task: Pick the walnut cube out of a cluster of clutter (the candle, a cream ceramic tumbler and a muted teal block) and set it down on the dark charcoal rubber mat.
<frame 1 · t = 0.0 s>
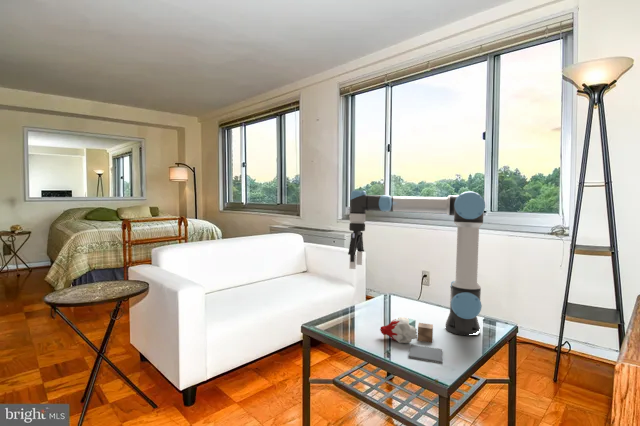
hand: (355, 266, 167), 28 cm above the table, fingers open, 13 cm apart
cream tumbler: (402, 332, 159), on the table
walnut cube: (425, 339, 151), on the table
mat: (425, 354, 134), on the table
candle: (397, 340, 149), on the table
teal block: (408, 328, 164), on the table
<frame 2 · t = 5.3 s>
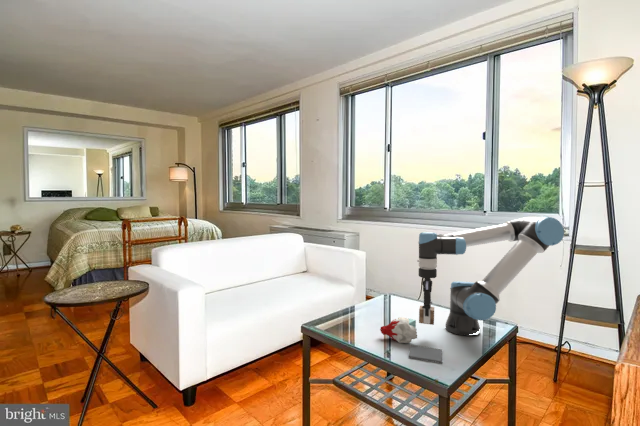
hand: (427, 320, 150), 8 cm above the table, fingers closed on walnut cube, 6 cm apart
walnut cube: (426, 321, 151), point 8 cm above the table, touching gripper
everything else where it was.
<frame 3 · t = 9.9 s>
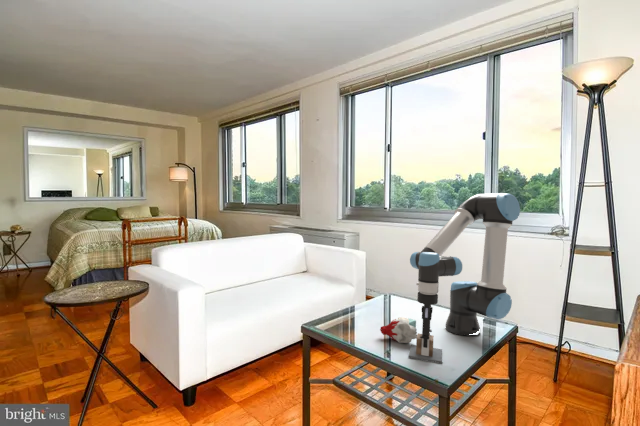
hand: (425, 351, 134), 1 cm above the table, fingers closed on mat, walnut cube, 6 cm apart
walnut cube: (424, 352, 134), point 1 cm above the table, touching gripper, mat
everything else where it was.
when the fingers open (1 cm above the table, at t = 10.3 s): walnut cube stays where it is, resting on mat.
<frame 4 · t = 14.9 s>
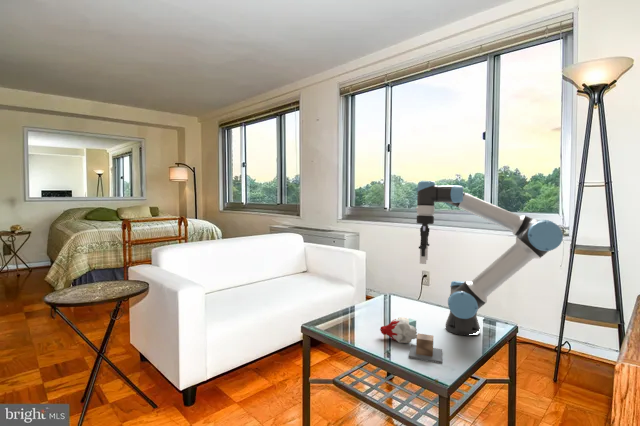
hand: (423, 261, 158), 33 cm above the table, fingers open, 13 cm apart
walnut cube: (424, 352, 134), point 1 cm above the table, touching mat
everything else where it was.
at the end: walnut cube inside the target area on the mat (0.4 cm from its centre), point 0.8 cm above the mat's base; walnut cube tilted 0°; the gripper is holding nothing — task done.
